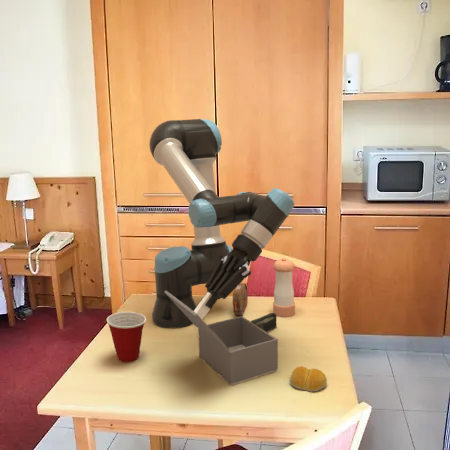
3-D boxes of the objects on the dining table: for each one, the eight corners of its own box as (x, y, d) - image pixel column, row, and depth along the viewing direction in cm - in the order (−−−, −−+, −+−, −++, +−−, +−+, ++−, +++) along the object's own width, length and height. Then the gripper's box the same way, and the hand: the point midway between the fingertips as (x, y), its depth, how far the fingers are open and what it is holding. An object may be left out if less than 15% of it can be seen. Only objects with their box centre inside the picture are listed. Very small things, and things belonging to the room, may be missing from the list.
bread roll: (323, 395, 124) (324, 380, 123) (287, 389, 127) (287, 374, 126) (329, 378, 131) (329, 364, 131) (294, 373, 134) (294, 359, 134)
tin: (241, 319, 169) (240, 294, 167) (231, 318, 169) (231, 294, 168) (248, 302, 183) (248, 279, 181) (239, 301, 184) (239, 279, 182)
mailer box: (199, 356, 144) (198, 326, 142) (242, 344, 151) (241, 316, 149) (231, 385, 129) (230, 352, 127) (277, 371, 135) (277, 339, 133)
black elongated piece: (270, 310, 163) (240, 325, 152) (278, 312, 161) (248, 327, 150) (270, 325, 164) (240, 340, 153) (278, 327, 162) (248, 343, 151)
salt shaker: (269, 314, 172) (268, 259, 168) (279, 307, 178) (279, 253, 174) (288, 318, 168) (288, 262, 164) (298, 311, 174) (299, 256, 169)
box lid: (197, 324, 142) (195, 325, 142) (166, 290, 135) (164, 292, 135) (230, 350, 126) (228, 352, 126) (197, 313, 119) (195, 315, 119)
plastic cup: (149, 364, 140) (146, 323, 138) (108, 369, 139) (105, 327, 136) (148, 347, 151) (146, 308, 148) (110, 350, 149) (107, 311, 146)
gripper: (274, 255, 130) (219, 332, 126) (247, 244, 141) (195, 315, 137) (256, 238, 126) (199, 317, 122) (229, 228, 137) (176, 300, 133)
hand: (197, 316), depth 130 cm, fingers closed
